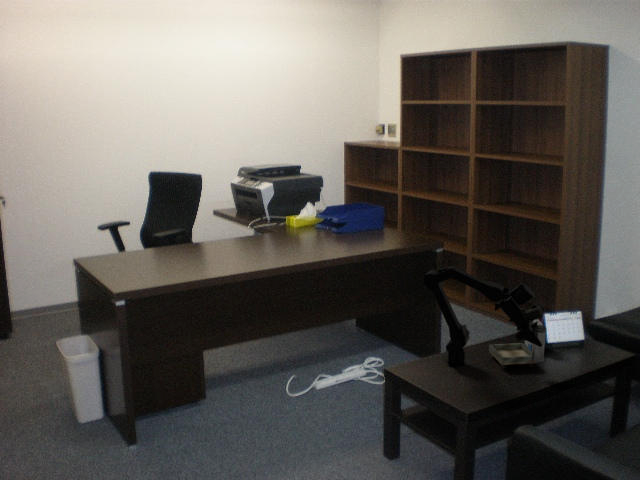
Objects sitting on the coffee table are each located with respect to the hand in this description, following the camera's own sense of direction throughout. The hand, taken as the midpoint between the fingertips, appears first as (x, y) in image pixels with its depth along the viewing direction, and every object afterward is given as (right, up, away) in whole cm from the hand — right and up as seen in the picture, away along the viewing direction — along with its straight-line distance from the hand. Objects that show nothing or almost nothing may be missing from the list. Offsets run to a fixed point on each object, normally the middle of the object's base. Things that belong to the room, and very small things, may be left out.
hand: (542, 343), depth 246 cm
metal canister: (-1, -6, +2) cm, 7 cm away
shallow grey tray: (-7, -10, +17) cm, 20 cm away
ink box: (+7, -7, +32) cm, 33 cm away
